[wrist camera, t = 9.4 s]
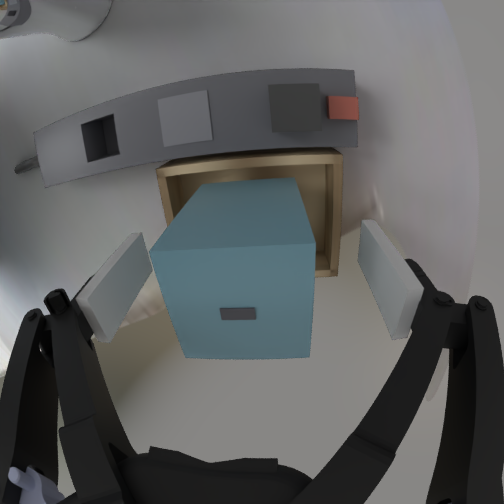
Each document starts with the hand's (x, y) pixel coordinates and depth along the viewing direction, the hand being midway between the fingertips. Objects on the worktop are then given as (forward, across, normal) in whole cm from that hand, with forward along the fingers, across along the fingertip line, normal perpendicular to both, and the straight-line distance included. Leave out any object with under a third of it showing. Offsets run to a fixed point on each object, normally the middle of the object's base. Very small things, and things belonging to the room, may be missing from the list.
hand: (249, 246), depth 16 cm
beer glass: (+7, -13, +20) cm, 25 cm away
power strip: (+7, -9, +8) cm, 13 cm away
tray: (+7, 0, 0) cm, 7 cm away
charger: (+6, 0, 0) cm, 6 cm away
